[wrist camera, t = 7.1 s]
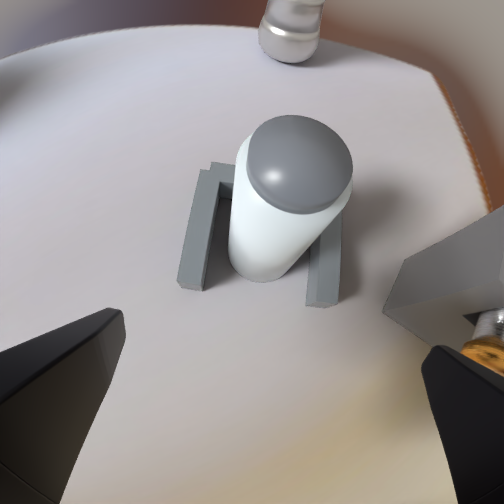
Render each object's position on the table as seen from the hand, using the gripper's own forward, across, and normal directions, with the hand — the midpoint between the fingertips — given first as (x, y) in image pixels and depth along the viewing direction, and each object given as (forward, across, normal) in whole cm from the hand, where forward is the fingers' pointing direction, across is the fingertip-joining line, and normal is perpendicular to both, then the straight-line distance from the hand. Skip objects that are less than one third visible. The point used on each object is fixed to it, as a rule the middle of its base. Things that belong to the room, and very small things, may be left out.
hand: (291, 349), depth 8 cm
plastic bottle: (+31, 0, +12) cm, 33 cm away
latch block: (+12, +15, -7) cm, 20 cm away
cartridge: (+14, 0, -5) cm, 15 cm away
